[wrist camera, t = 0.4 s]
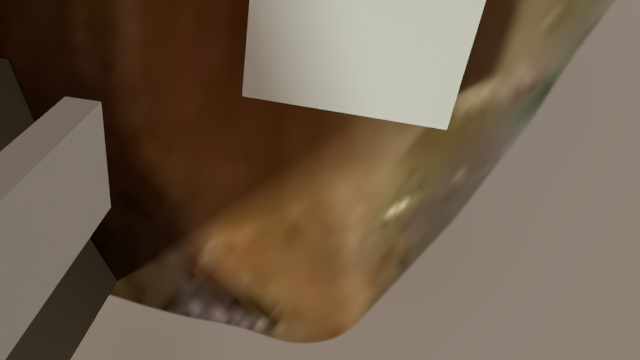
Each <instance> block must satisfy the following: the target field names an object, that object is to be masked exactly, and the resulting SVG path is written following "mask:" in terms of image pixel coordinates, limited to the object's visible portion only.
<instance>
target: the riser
mask: <svg viewBox="0 0 640 360" xmlns="http://www.w3.org/2000/svg"><path fill="white" fill-rule="evenodd" d="M485 3H486V0H249V12H248V25H247V38H246V51H245V64H244V77H243V90H242V96H244V97H250V98H256V99H262V100H268V101H274V102H280V103H286V104H292V105H298V106H304V107H310V108H316V109H323V110H329V111H335V112H341V113H347V114H353V115H359V116H365V117H371V118H377V119H383V120H389V121H395V122H401V123H408V124H414V125H420V126H426V127H432V128H438V129H444V130H447V127H448V124H449V121H450V118H451V114H452V111H453V108H454V104H455V101H456V98H457V95H458V91H459V88H460V85H461V81H462V78H463V75H464V72H465V68H466V65H467V62H468V58H469V55H470V52H471V49H472V45H473V42H474V39H475V35H476V32H477V29H478V26H479V22H480V19H481V16H482V12H483V9H484V6H485Z"/></svg>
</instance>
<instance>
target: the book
mask: <svg viewBox="0 0 640 360" xmlns="http://www.w3.org/2000/svg"><path fill="white" fill-rule="evenodd" d="M33 123H35V122H34V120H33V117H32V115H31V113H30V110H29V108H28V105H27V103H26V101H25V98H24V96H23V94H22V91H21V89H20V87H19V84H18V82H17V79H16V77H15V75H14V72H13V70H12V68H11V65H10V63H9V60H8V59H3V58H0V152H1V151H2V150H3V149H4V148H5V147H6V146H8V145H9V144H10V143H11V142H12V141H13V140H15V139H16V138H17V137H18V136H19V135H21V134H22V133H23V132H24V131H25V130H26V129H28V128H29V127H30V126H31V125H32V124H33ZM116 282H117V280H116V279H115V277H114V276H113V274H112V272H111V271H110V269H109V268H108V266H107V264H106V263H105V261H104V260H103V258H102V256H101V255H100V253H99V252H98V250H97V249H96V247H95V245H94V244H93V242H92V241H91V239H90V238H89V240H88V241H87V243H86V244H85V245H84V247H83V248H82V250H81V251H80V253H79V254H78V256H77V257H76V258H75V260H74V261H73V263H72V264H71V266H70V267H69V269H68V270H67V271H66V273H65V274H64V276H63V277H62V279H61V280H60V282H59V283H58V284H57V286H56V287H55V289H54V290H53V292H52V293H51V295H50V296H49V297H48V299H47V300H46V302H45V303H44V305H43V306H42V308H41V309H40V310H39V312H38V313H37V315H36V316H35V318H34V319H33V320H32V322H31V323H30V325H29V326H28V328H27V329H26V331H25V332H24V333H23V335H22V336H21V338H20V339H19V341H18V342H17V344H16V345H15V346H14V348H13V349H12V351H11V352H10V354H9V355H8V357H7V358H6V359H5V360H70V359H71V357H72V356H73V354H74V352H75V351H76V349H77V347H78V346H79V344H80V342H81V341H82V339H83V337H84V336H85V334H86V332H87V331H88V329H89V327H90V326H91V324H92V322H93V321H94V319H95V317H96V316H97V314H98V312H99V310H100V309H101V307H102V306H103V304H104V302H105V301H106V299H107V297H108V296H109V294H110V292H111V291H112V289H113V287H114V286H115V284H116Z"/></svg>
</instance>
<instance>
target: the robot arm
mask: <svg viewBox="0 0 640 360" xmlns="http://www.w3.org/2000/svg"><path fill="white" fill-rule="evenodd" d="M110 208H111V202H110V191H109V180H108V169H107V159H106V148H105V137H104V126H103V115H102V104H101V102H99V101H92V100H86V99H79V98H72V97H66V96H65V97H64V98H63V99H62V100H61V101H59V102H58V103H57V104H56V105H55V106H53V107H52V108H51V109H50V110H49V111H48V112H46V113H45V114H44V115H43V116H42V117H41V118H39V119H38V120H37V121H36V122H35V123H33V124H32V125H31V126H30V127H29V128H28V129H26V130H25V131H24V132H23V133H22V134H21V135H19V136H18V137H17V138H16V139H15V140H13V141H12V142H11V143H10V144H9V145H8V146H6V147H5V148H4V149H3V150H2V151H1V152H0V360H5V359H6V358H7V357H8V355H9V354H10V352H11V351H12V349H13V348H14V346H15V345H16V344H17V342H18V341H19V339H20V338H21V336H22V335H23V333H24V332H25V331H26V329H27V328H28V326H29V325H30V323H31V322H32V320H33V319H34V318H35V316H36V315H37V313H38V312H39V310H40V309H41V308H42V306H43V305H44V303H45V302H46V300H47V299H48V297H49V296H50V295H51V293H52V292H53V290H54V289H55V287H56V286H57V284H58V283H59V282H60V280H61V279H62V277H63V276H64V274H65V273H66V271H67V270H68V269H69V267H70V266H71V264H72V263H73V261H74V260H75V258H76V257H77V256H78V254H79V253H80V251H81V250H82V248H83V247H84V245H85V244H86V243H87V241H88V240H89V238H90V237H91V235H92V234H93V232H94V231H95V230H96V228H97V227H98V225H99V224H100V222H101V221H102V219H103V218H104V217H105V215H106V214H107V212H108V211H109V209H110Z"/></svg>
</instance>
